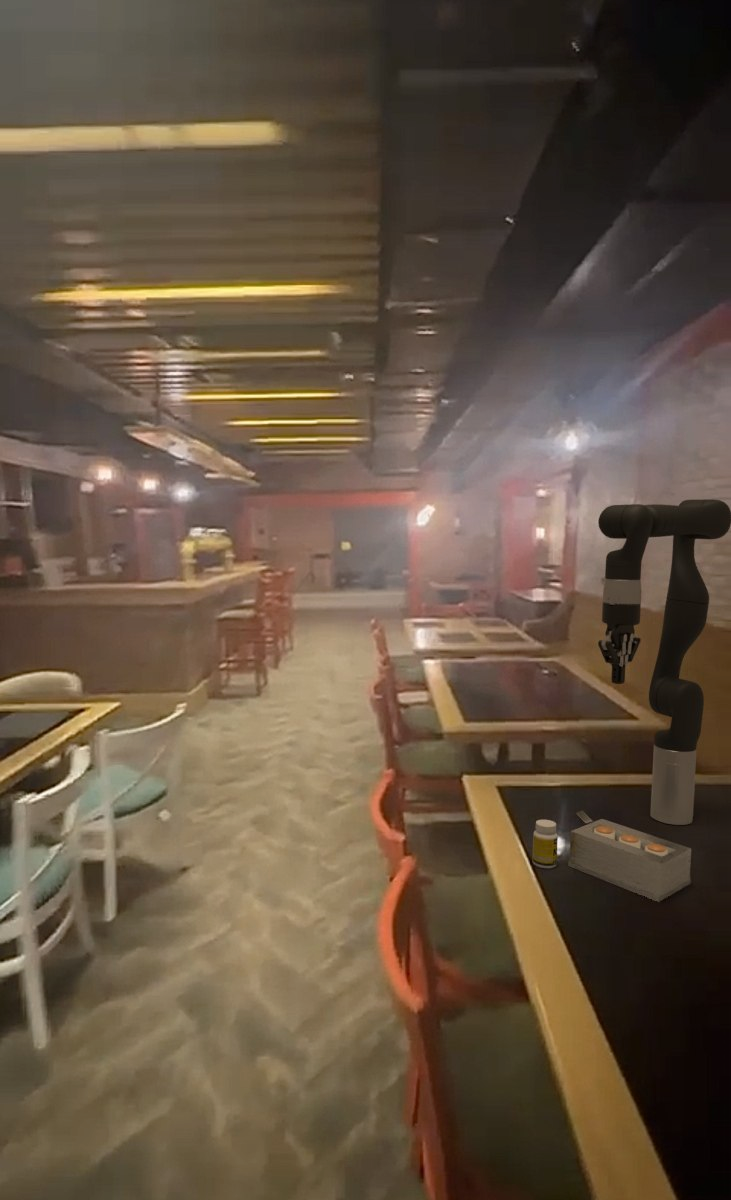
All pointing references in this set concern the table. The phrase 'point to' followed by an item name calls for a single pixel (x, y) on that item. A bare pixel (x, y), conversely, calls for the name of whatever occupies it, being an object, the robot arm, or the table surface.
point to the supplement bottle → (545, 844)
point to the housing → (630, 861)
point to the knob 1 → (605, 831)
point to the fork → (585, 817)
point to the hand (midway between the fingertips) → (617, 683)
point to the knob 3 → (656, 849)
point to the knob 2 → (630, 840)
